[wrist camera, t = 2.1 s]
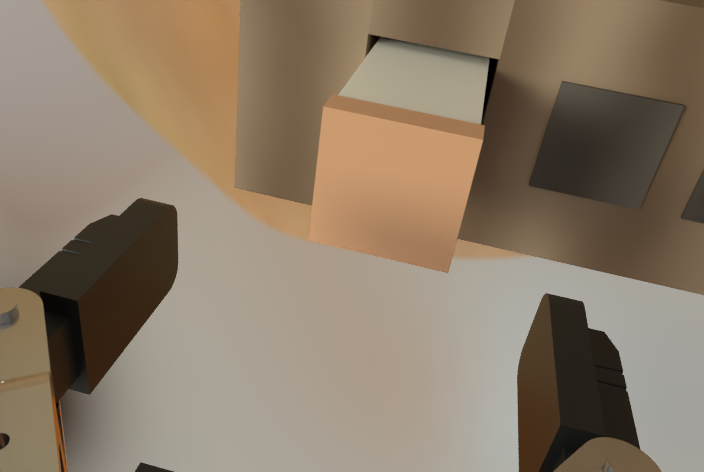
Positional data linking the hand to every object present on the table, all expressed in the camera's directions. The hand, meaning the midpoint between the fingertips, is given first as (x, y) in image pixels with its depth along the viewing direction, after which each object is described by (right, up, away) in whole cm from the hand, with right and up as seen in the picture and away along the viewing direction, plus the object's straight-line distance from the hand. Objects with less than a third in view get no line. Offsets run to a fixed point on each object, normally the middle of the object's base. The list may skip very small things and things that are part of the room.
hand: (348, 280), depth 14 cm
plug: (+4, +9, +14) cm, 17 cm away
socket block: (+8, +8, +14) cm, 18 cm away
